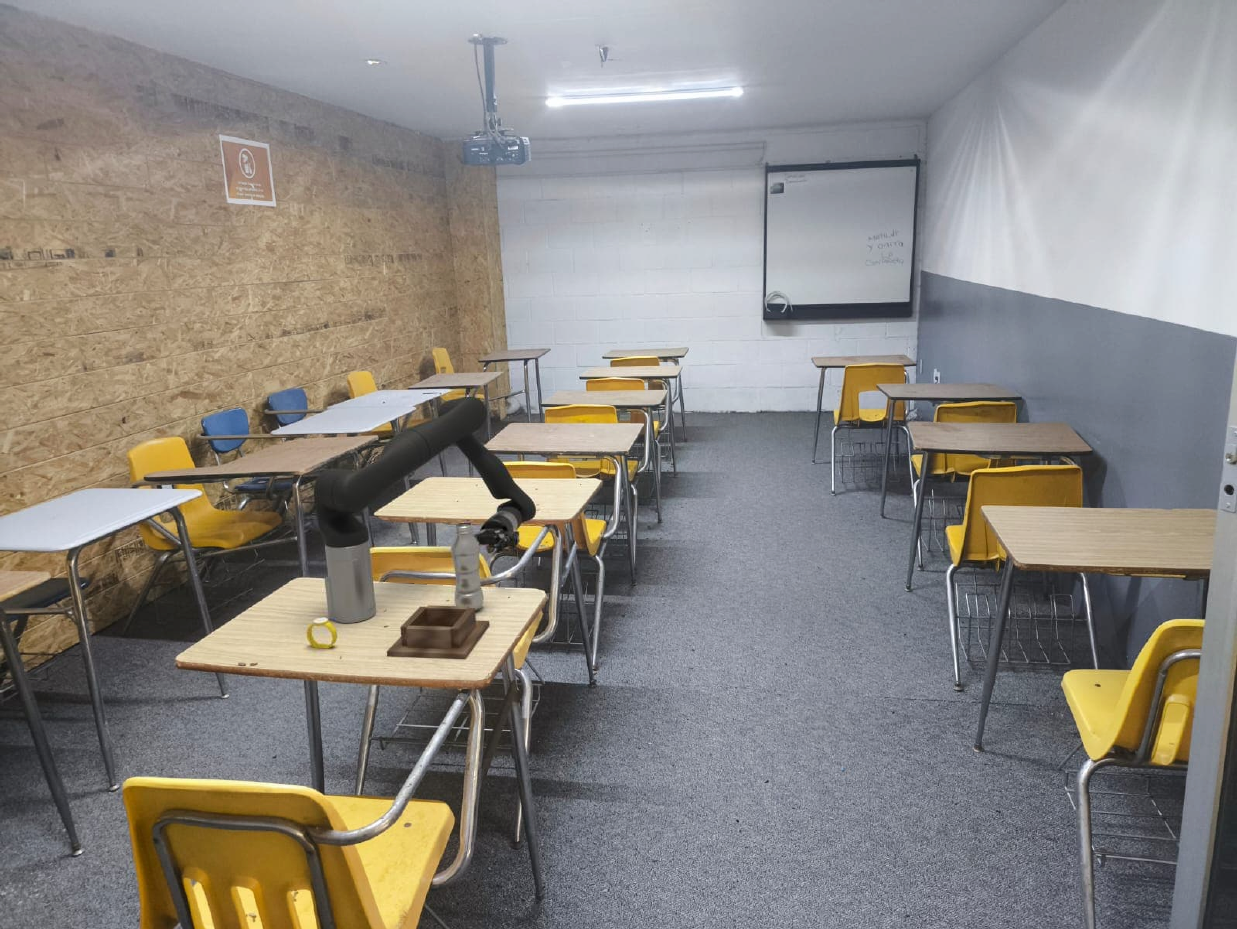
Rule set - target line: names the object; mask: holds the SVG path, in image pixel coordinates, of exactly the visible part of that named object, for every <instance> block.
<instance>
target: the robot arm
mask: <svg viewBox="0 0 1237 929" xmlns="http://www.w3.org/2000/svg"><path fill="white" fill-rule="evenodd" d="M437 416H438V417H434V418H432V419H429V420H426V421H423V422H420V423H417V424H415V425H413V426H411V427H409V428H406V429H405V430H403V431H401V432H400V433H398V434H396V435H395V436H393V437H392V438H390V439H389V440H388V441H386V444H384V446H383V448H382V451H381V453H380V456H379V457H378V458H377V459H376V460H375V461H373V462H371V463H370V464H367V465H366V466H364V467H362V468H359V469H353V470H352V469H343V468H327V469H324V470H322V471H321V472H320V473H319V475H318V476H317V478H316V479H315V481H314V486H313V501H314V506H315V513H316V518H317V525H318V530H319V533H320V534H321V536H322V538H323V541H324V547H325V548H324V549H325V558H326V569H327V576H326V577H325V578H324V587H325V595H326V605H327V613H328V621H329V620H331V621H332V620H333V621H335V622H337V623H341V624H345V623H346V624H352V623H358V622H362V621H363V622H364V621H366V620H368V619H371V618H372V617H374V616H375V615H376V613H377V607H376V606H377V605H376V603H377V602H376V597H375V586H374V577H373V576H374V575H373V566H372V565H373V564H372V554H371V546H370V545H371V544H370V537H369V529H368V527H367V525H366V524H364V523H363V522H361V521H360V520H359V519H358V518H357V517H356V516H355V514H356V513H359V512H362V511H364V510H365V509H366V508H368V507H369V506H370V505H371V504H372V503H374V502H375V501H377V499H378V498H379V497H381V495H383V494H384V493H385V492H386V491H387V490H389V489H390V488H391V487H392V486H394V485H396V484H397V483H398V482H400V481H401V480H403V479H405V477H408V475H410V474H412V473H413V472H415V471H417V470H419V469H420V468H421V467H422V466H424V465H425V464H427V463H428V462H430V461H431V460H433V459H434V458H436V456H438V455H440V454H441V453H442V452H444V451H445V450H447V449H448V448H449V447H451V446H452V445H453V444H455V445H456V447H457V448H458V449H459V450H460V452H462V454H463V455H464V456H465V457H466V459H467V460H468V461H469V462H470V463H471V465H473V467H474V468H475V470H476V471H477V473H478V474H479V476H480V477H481V479H482V481H483V483H484V484H485V486H486V487H487V490H489V493H490V495H491V496H492V498H494V499H495V500H507V501H506V502H505V501H504V502H502V503H500V504H499V505H498V506H497V507H496V513H494V514H493V515H491V516H490V517H489V518H488V519H486V521H485V522H484V523H483V524H482V525H481V527H480V530H479V531H476V532H472V535H473V536H474V537H475V538H476V540H477V541H478V542H479V545H480V548H481V547H487V546H488V547H490V548H492V549H496V554H501V552H503V551H505V550H507V549H509V547H510V549H515V548H517V546H518V545H519V544H520V531H517V530H518V529H519V528H520V526H521V524H523V523H526V522H529V521H531V520H533V519H534V518H535V516H536V514H537V507H536V503H535V502H534V501H533V499H532V498H531V497H530V496H529V495H528V494H527V493H526V492H525V491H524V490H523V489H522V488H521V486H519V485H518V484H517V483H516V482H515V480H514V478H513V477H512V475H511V473H510V472H509V470H508V468H507V466H506V465H505V464H504V462H503V461H502V460H501V459H500V458H499V457H498V456H497V455H496V454H494V452H492V451H491V450H489V449H488V448H487V447H486V446H484V445H483V444H482V442H480V441H479V440H478V438H477V437H476V436H475V435H474V433H476V432H478V431H479V430H481V429H482V428H483V427H484V426H485V423H486V421H487V418H488V409H487V406H486V405H485V403H484V401H482V399H480V398H478V397H475V396H469V395H468V396H463V397H459V398H454V399H453V398H452V399H449V400H447V401H444V402H443V403H441V405H440V406H439V409H438V413H437Z"/></svg>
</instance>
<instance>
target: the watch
mask: <svg viewBox="0 0 1237 929" xmlns="http://www.w3.org/2000/svg"><path fill="white" fill-rule="evenodd" d="M312 621H313V622H312V623H311V624H310V625H309V626H308V628H307V629H306V638H307V641H308V642H309V644H310V645H311V646H312V647H314V648H315V649H327V650H328V649H330V648H331V647H333V646H334V645H335V644H336V643H337V639H338V633H337V628H335V626H334V625H333V624H332V622H330V621H329V618H328V617H318V618H315V619H314V620H312ZM314 626H315V627H322V626H324V627H326V628H327V629H328V630H329V632H330V633H331V638H332V640H331V643H330V644H328V643H327V644H322V643H319V642H318V641H316V640H315V638H314V636H313V631H312V630H313V627H314Z"/></svg>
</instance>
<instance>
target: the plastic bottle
mask: <svg viewBox="0 0 1237 929" xmlns="http://www.w3.org/2000/svg"><path fill="white" fill-rule="evenodd" d="M454 533H455V534H456V535H455V538H454V539H453V541H452V543H451V546H450V552H451V553H450V554H451V558H452V563H453V565H454V566H453V568H454V576H455V590H454V606H469V608H475V612H476V611H479V609H481V608H482V607H483V605H484V598H485V597H484V592H483V589H482V586H481V578H480V569H479V568H480V552H481V547H480V545H479V542H478V541H477V540H476V538H475V537H474V536H473V535H472V534H473V533H474V529H473V523H472V522H470V521H463V522H458V523H456V524H455V532H454Z"/></svg>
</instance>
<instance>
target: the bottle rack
mask: <svg viewBox="0 0 1237 929" xmlns="http://www.w3.org/2000/svg"><path fill="white" fill-rule="evenodd" d="M476 617H477V616H476V611H475V608H469V606H456V605H435V604H434V605H433V604H431V605H430V604H428V605H427V606H419V607H418V608H417V609H416V610H415V611H414V612H413V614H411V615H410V617H408V619H407V620H405V622H403V624H402V625H400V627H399V628H400V637H399V638H398V639H397V640H396V641H395V642H394V643H393V644H392V645H391V646H390V647H389V648H388V649H387V651H386V656H387V657H399V658H400V657H402V658H404V657H406V658H425V659H426V658H428V659H429V658H430V659H431V658H432V659H456V660H457V659H458V660H467V657H469V655H470V653H471V652H472V650H474V647H476V645H477V643H478V642H479V641H480V639H481V638H482V636H484V634H485V632H486V631H487V629H488V628H489V627H490V624H491V623H490V620H477V618H476Z"/></svg>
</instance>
